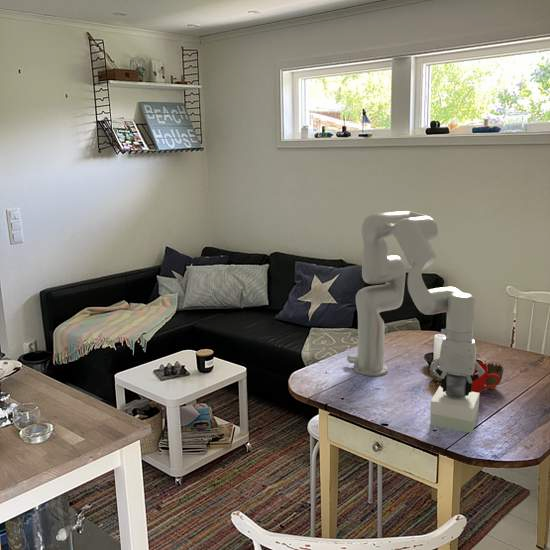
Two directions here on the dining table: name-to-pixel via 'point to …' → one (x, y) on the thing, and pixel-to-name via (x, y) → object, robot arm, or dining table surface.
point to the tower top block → (455, 405)
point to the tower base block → (453, 422)
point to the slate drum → (456, 385)
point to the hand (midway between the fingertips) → (456, 391)
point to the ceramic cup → (483, 379)
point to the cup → (493, 370)
